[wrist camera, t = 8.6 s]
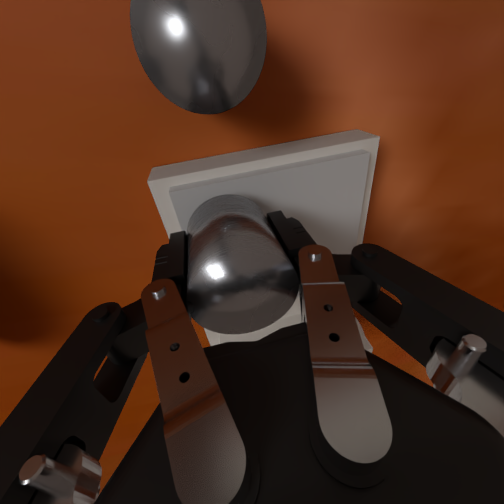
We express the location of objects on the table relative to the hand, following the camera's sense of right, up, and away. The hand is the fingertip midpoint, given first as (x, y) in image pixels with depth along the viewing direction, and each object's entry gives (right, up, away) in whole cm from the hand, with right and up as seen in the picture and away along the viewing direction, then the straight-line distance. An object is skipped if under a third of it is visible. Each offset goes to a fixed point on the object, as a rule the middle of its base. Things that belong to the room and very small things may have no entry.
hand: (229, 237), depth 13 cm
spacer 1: (-1, +9, -1) cm, 9 cm away
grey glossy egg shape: (0, 0, +1) cm, 1 cm away
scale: (+3, -1, +7) cm, 8 cm away
